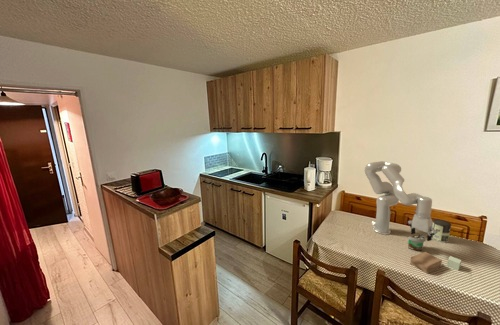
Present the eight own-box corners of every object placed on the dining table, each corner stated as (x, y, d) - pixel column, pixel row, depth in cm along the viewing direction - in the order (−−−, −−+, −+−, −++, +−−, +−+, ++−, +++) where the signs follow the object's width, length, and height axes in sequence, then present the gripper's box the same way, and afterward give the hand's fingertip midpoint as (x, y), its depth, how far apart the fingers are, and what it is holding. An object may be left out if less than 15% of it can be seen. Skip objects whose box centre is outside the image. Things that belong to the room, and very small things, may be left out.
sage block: (446, 265, 123) (448, 259, 122) (448, 262, 126) (450, 255, 125) (458, 270, 119) (459, 263, 118) (459, 267, 122) (461, 260, 121)
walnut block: (410, 263, 126) (411, 257, 125) (424, 258, 131) (425, 251, 130) (426, 273, 118) (427, 266, 117) (440, 267, 122) (441, 260, 121)
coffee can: (446, 237, 152) (449, 221, 149) (449, 244, 144) (452, 227, 141) (429, 233, 158) (431, 217, 155) (430, 239, 150) (433, 223, 147)
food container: (415, 253, 135) (417, 241, 133) (406, 248, 141) (408, 236, 139) (428, 250, 138) (430, 237, 136) (418, 245, 144) (420, 233, 142)
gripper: (405, 210, 141) (404, 232, 144) (435, 220, 125) (432, 244, 127) (412, 208, 143) (410, 230, 146) (442, 218, 127) (439, 242, 130)
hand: (420, 236), depth 137 cm, fingers open, 9 cm apart
